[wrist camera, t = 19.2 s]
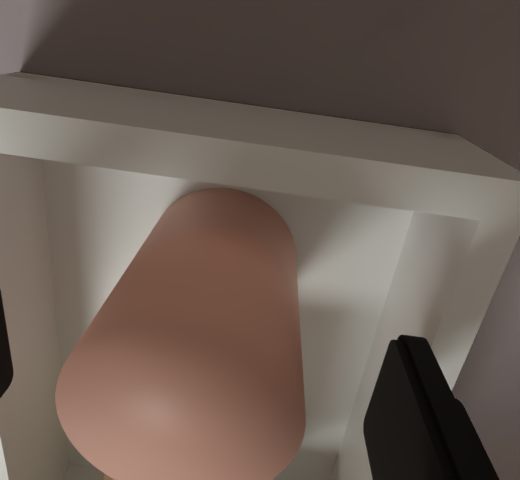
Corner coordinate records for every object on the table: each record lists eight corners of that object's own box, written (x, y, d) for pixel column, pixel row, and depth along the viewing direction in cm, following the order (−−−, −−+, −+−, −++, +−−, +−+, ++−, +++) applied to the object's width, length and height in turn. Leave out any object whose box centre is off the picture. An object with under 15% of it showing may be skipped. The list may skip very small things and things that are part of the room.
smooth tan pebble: (283, 324, 16) (284, 513, 10) (150, 306, 16) (63, 484, 10) (307, 199, 14) (328, 336, 8) (153, 177, 14) (44, 298, 7)
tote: (339, 493, 22) (353, 614, 17) (60, 456, 21) (1, 569, 17) (456, 134, 14) (542, 184, 9) (18, 71, 14) (-113, 91, 9)
